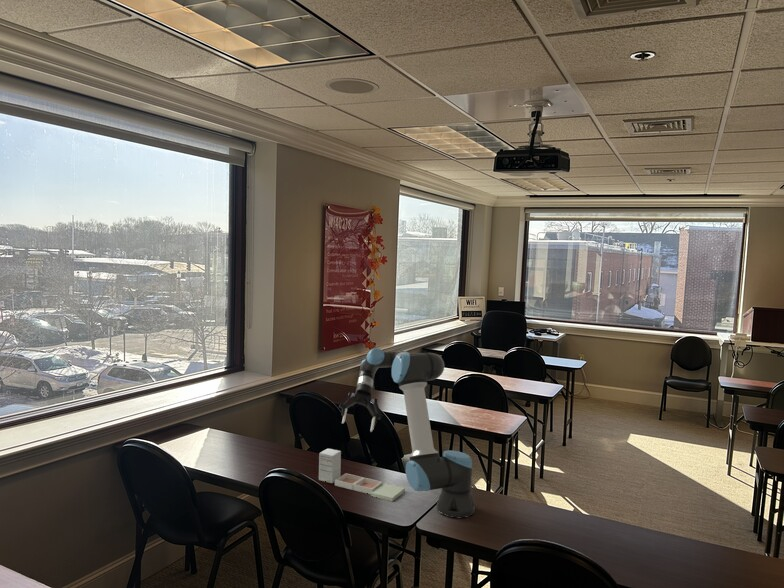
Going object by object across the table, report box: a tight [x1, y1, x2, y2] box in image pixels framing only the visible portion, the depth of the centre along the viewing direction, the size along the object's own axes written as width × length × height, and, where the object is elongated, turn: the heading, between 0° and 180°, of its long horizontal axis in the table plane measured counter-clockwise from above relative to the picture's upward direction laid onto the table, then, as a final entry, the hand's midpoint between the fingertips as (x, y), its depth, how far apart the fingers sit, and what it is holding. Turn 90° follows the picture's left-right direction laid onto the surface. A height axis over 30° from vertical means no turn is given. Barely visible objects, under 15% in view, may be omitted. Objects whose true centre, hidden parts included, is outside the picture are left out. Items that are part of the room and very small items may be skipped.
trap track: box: [334, 473, 406, 502], centre depth 240 cm, size 29×12×2 cm, turn 63°
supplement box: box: [318, 448, 342, 484], centre depth 249 cm, size 7×7×13 cm
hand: (357, 426), depth 249 cm, fingers open, 13 cm apart
